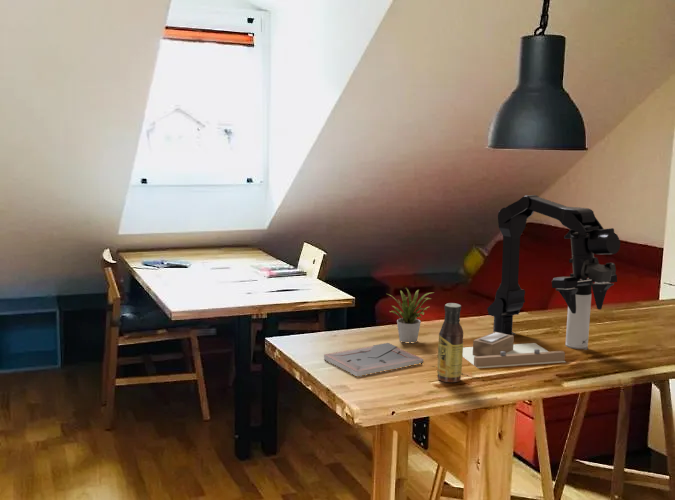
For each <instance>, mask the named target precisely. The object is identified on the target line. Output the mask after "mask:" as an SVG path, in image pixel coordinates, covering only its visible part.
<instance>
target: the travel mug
mask: <svg viewBox="0 0 675 500" xmlns="http://www.w3.org/2000/svg"><path fill="white" fill-rule="evenodd" d="M591 284H594V282H591V283H583V284H578V285H577V286H576V289H578V291H577V293H576V313H575V314H573V313H572V312H571V310H570V309H569V307H568V306H567V316H566V332H565V347H566V348H569V349H573V350H575V349H576V350H585V351H587V350H588V349H589V336H590V335H589V333H590V321H591V319H590V317H591V306H592V291H593V289H592V285H591Z"/></svg>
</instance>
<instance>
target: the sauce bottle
mask: <svg viewBox="0 0 675 500" xmlns="http://www.w3.org/2000/svg"><path fill="white" fill-rule="evenodd" d="M461 311H462V305H461V304H459V303H455V302H448V303H446V304H444V320H443V323H442V325H441V328H440V331H439V333H438V344H437V364H436V365H437V367H436V374H437V376H436V377H437V379H438V380H439V381H441V382H443V383H458V382H460V381H461V379H462V376H461V375H462V372H463V371H462V370H463V357H462V356H463V348H464V330H463V326H462V325H461V323H460V322H461V319H460V317H461Z"/></svg>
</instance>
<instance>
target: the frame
mask: <svg viewBox="0 0 675 500" xmlns="http://www.w3.org/2000/svg"><path fill="white" fill-rule="evenodd" d="M514 337H515V335H514V334H512V335H508V334H504V333H499V332H493V331H492V332H491V333H488V334H486V335H483V336H480V337H478V338H476V339H473V342H472V347H473V355H475V356H490V355H500V353H501V351H505V352H506V353H507V352H510V351H512V350H513V344H515V343H514V339H515V338H514Z"/></svg>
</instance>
